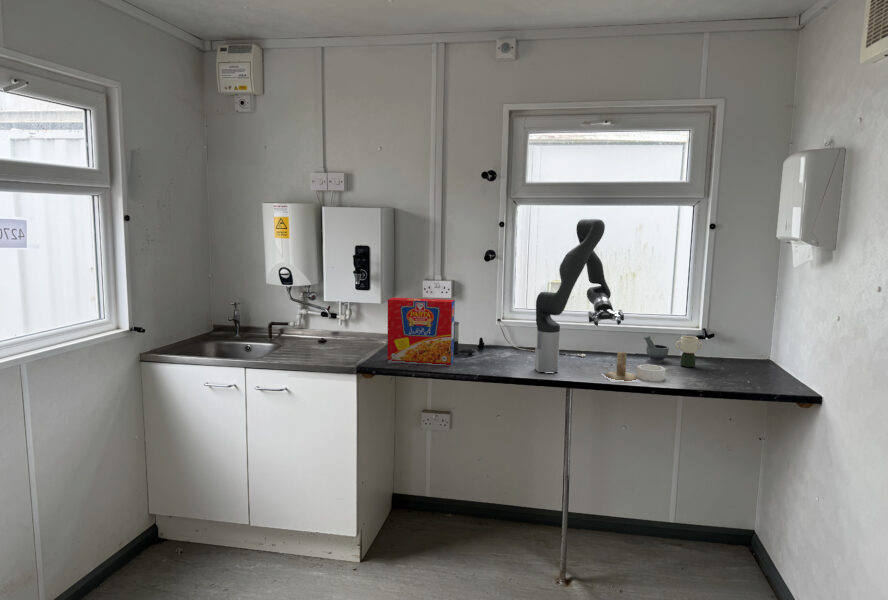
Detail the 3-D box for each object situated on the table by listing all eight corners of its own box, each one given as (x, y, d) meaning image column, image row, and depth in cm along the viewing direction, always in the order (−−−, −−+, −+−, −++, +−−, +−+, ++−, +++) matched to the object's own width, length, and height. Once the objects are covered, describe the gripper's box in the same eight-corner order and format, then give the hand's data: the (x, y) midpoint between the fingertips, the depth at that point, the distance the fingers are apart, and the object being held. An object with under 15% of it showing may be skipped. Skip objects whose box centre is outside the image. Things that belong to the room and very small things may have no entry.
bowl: (644, 381, 221) (644, 370, 220) (633, 375, 231) (633, 364, 230) (668, 381, 222) (669, 370, 221) (656, 375, 232) (657, 364, 231)
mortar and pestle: (664, 359, 260) (666, 334, 259) (671, 364, 251) (672, 337, 250) (640, 358, 262) (641, 333, 260) (645, 363, 252) (646, 337, 251)
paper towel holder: (612, 381, 220) (613, 356, 218) (600, 373, 231) (602, 349, 230) (641, 380, 221) (643, 356, 219) (628, 373, 232) (630, 349, 231)
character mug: (698, 365, 250) (700, 336, 248) (703, 369, 243) (705, 339, 241) (672, 364, 252) (674, 335, 250) (676, 367, 245) (678, 338, 243)
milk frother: (438, 351, 271) (438, 320, 269) (470, 350, 274) (470, 320, 272) (443, 357, 257) (443, 325, 256) (476, 356, 260) (477, 325, 258)
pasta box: (387, 363, 246) (387, 299, 242) (392, 359, 254) (392, 297, 250) (450, 366, 241) (451, 302, 238) (453, 362, 249) (454, 299, 245)
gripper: (585, 300, 245) (589, 316, 230) (619, 298, 242) (625, 313, 228) (586, 316, 248) (590, 332, 233) (620, 314, 245) (626, 330, 230)
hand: (607, 323), depth 230 cm, fingers open, 8 cm apart
